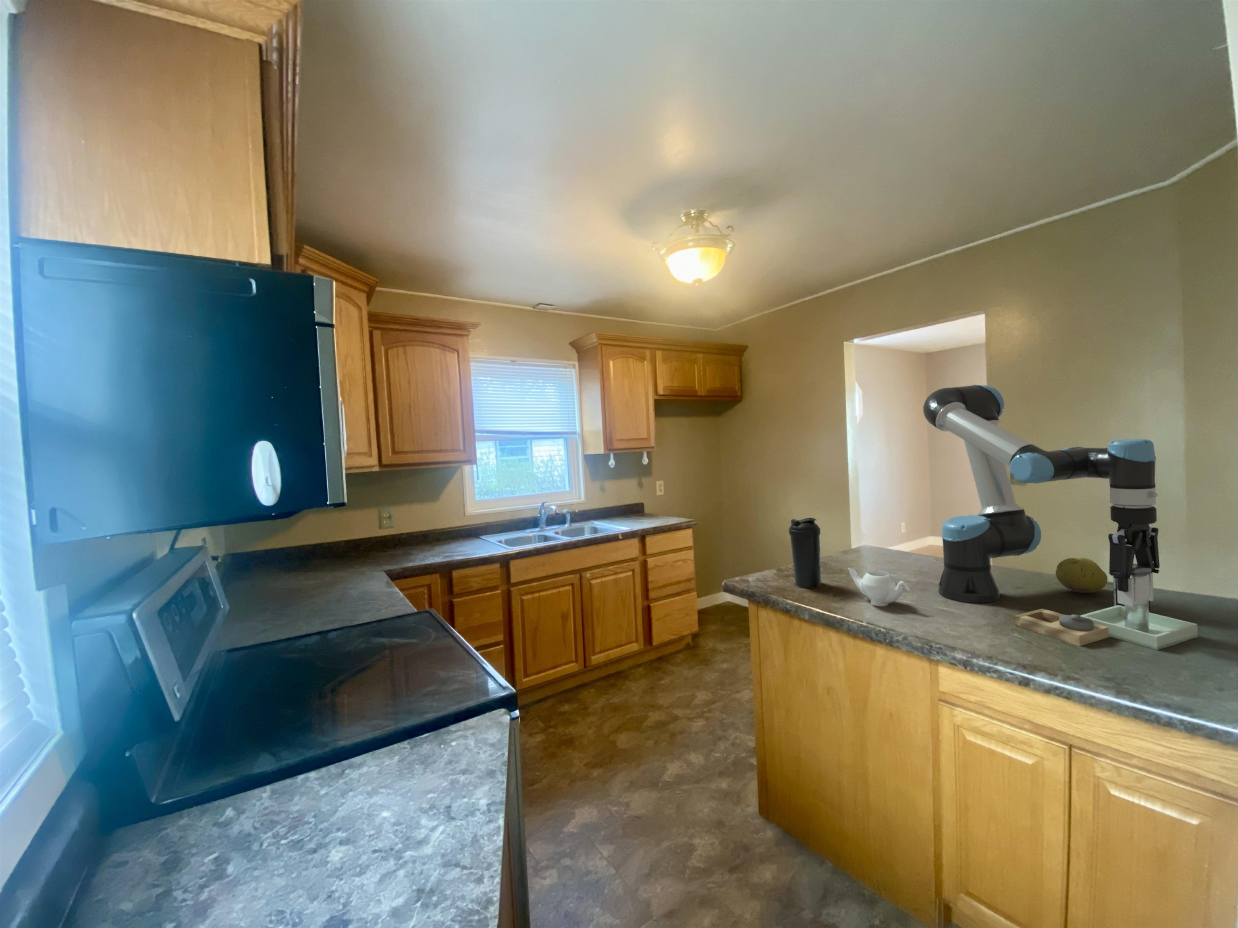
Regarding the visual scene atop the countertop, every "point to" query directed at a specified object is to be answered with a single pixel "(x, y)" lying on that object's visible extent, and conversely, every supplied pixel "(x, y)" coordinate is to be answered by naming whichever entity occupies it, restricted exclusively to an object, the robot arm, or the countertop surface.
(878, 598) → the teapot
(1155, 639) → the tray
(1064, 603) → the countertop surface
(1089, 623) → the block
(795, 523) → the water bottle
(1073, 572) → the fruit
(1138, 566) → the pin
